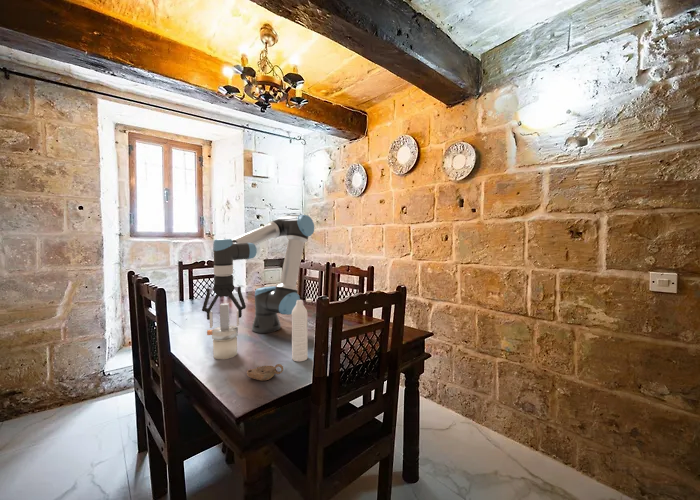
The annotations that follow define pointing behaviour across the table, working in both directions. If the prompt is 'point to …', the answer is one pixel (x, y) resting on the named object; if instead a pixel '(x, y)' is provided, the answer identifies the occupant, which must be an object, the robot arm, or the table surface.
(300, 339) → the water bottle
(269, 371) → the oil lamp
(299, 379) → the table surface
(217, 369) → the table surface
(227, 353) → the jar
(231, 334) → the lid
